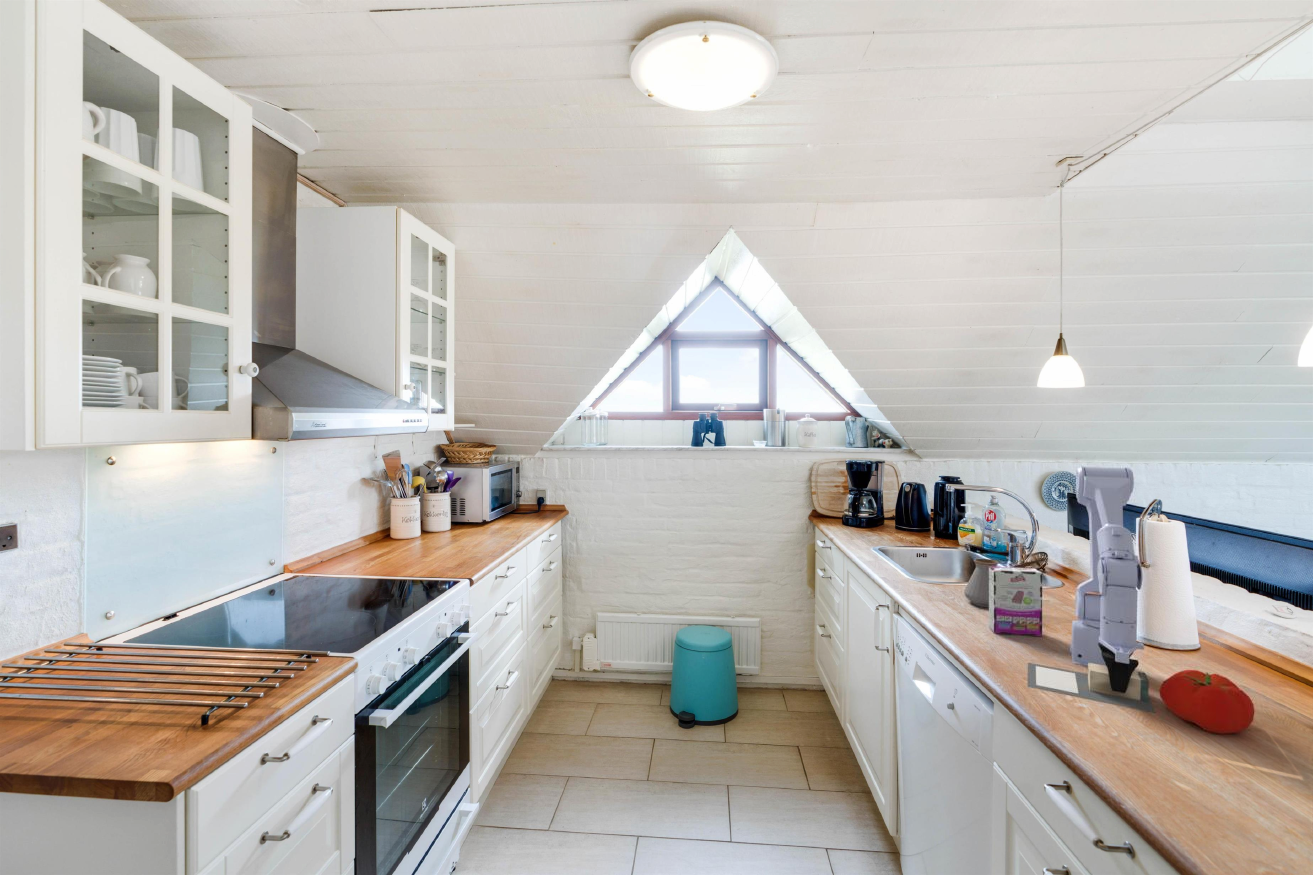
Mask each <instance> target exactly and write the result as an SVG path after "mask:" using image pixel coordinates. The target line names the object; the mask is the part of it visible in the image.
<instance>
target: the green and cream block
mask: <svg viewBox="0 0 1313 875" xmlns="http://www.w3.org/2000/svg"><path fill="white" fill-rule="evenodd" d="M1087 674H1088V685H1089V689H1090V690H1091V691H1096V692H1101V693H1106V694H1111V695H1116V696H1121V697H1126V698H1131V699H1136V700H1141V701H1146V702H1148V696H1149V692H1150V691H1149V689H1150V684H1149V683H1150V681H1149V679H1148V677H1147V674H1146V673H1145V672H1142V671H1136V670H1134V671H1133V673H1132V675H1131V677H1130V681H1129V684H1128V688H1127V691H1126V693H1121V692H1116V691H1112V689H1111V685H1110V680H1109V673H1108V669H1107V666H1104V665H1098V664H1093V663H1088V666H1087ZM1149 697H1150V696H1149Z"/></svg>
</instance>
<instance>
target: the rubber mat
mask: <svg viewBox="0 0 1313 875" xmlns="http://www.w3.org/2000/svg"><path fill="white" fill-rule="evenodd" d="M1026 683H1027V684H1026V685H1027V687H1028V688H1032V689H1033V688H1034V689H1038V690H1043V691H1047V692H1052V693H1058V694H1062V695H1065V696H1071V697H1075V698H1081V699H1084V700H1085V699H1086V700H1090V701H1096V702H1100V703H1104V704H1108V705H1109V704H1110V705H1114V706H1119V707H1125V708H1130V709H1134V710H1138V711H1143V712H1147V713H1154V714H1156V711H1155V710H1156V709H1155V707H1154V705H1153V704H1152V701H1151V698H1150V696H1148V702H1146V701H1141V700H1136V699H1131V698H1126V697H1121V696H1116V695H1111V694H1106V693H1101V692H1096V691H1091V690H1090V689H1089V685H1088V673H1085V672H1080V671H1074V670H1069V669H1064V668H1060V667H1059V668H1058V667H1053V666H1049V665H1043V664H1039V663H1038V664H1037V663H1031V662H1027V682H1026Z"/></svg>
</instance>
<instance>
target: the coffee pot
mask: <svg viewBox="0 0 1313 875" xmlns="http://www.w3.org/2000/svg"><path fill="white" fill-rule="evenodd" d="M973 562H974V563H975V568H974V571H973V573H972V574H971V576H970V579H969V580H968V581H967V583H966V586H965V587H964V590H963V594H964V596H965V597H966V598H967V600H968V601H970V603H971V604H973V605H975V606H978V607H982V608H989V567H998V565H999V561H997V560H994V559H989V558H975V559H973ZM1043 562H1044V563H1045V564H1046V566H1048V565H1049V563H1048V562H1047V559H1046V558H1045V557H1043V558H1039V559H1035V560H1030V561H1029V560H1028V561H1025V562H1022V563H1019V564H1015V565H1013V566H1010V567H1011V568H1027V567H1030V566H1032V565H1035V564H1039V563H1043Z"/></svg>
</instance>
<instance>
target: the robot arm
mask: <svg viewBox="0 0 1313 875" xmlns="http://www.w3.org/2000/svg"><path fill="white" fill-rule="evenodd" d="M1133 472H1134V471H1132V469H1131V468H1129V467H1099V466H1098V467H1095V466H1094V467H1093V466H1083V465H1080V466H1079V467H1077V469H1076V474H1075V489H1076V490H1075V491H1076V493H1075V494H1076V499H1077V503H1078V504H1081V505H1083V507H1084V506H1085V507H1086V510H1087V513H1088V514H1087V515H1088V519H1089V520H1088V522H1089V524H1088V528H1089V530H1088V531H1089V559H1090V560H1089V561H1090V562H1089V564H1090V565H1089V567H1090V578H1088V579H1087V580H1085V581H1083V582H1081V583H1079V584H1078V586H1077V587H1076V589H1075V600H1074V602H1075V603H1074V607H1075V608H1074V609H1075V616H1076V618H1077V619H1078V620H1072V621H1071V644H1070V646H1069V652H1070V654H1071V659H1072V663H1073V664H1074V665H1079V666H1085V667H1088V663H1093V664H1098V665H1104V666H1107V669H1108V673H1109V680H1110V685H1111V689H1112V691H1116V692H1121V693H1126V691H1127V688H1128V684H1129V681H1130V677H1131V675H1132V673H1133V671H1136V669H1137V668H1138V666H1139V662H1140V661H1139V660H1138V659H1133V658H1131V657H1132V655H1133V654H1134V652H1136V650H1145V644H1143V643H1142V642H1137V633H1138V632H1137V631H1138V628H1137V627H1138V598H1139V597H1138V595H1139V594H1138V591H1139V590H1142V586H1143V579H1144V578H1143V577H1144V575H1143V569H1142V564H1141V561H1140V560H1139V556H1138V555H1136V554H1135V548H1134V542H1133V536H1132V532H1131V530H1129V529H1128V528H1126V527H1124V523H1123V522H1124V514H1123V512H1124V511H1123V510H1124V509H1123V508H1124V507H1125V506H1126V505H1127V504H1128V502H1129V501H1130V498H1131V495H1132V494H1133V490H1134V485H1135V482H1134V479H1135V478H1134V473H1133ZM1088 592H1089V593H1088ZM1097 593H1099V594H1097Z"/></svg>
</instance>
